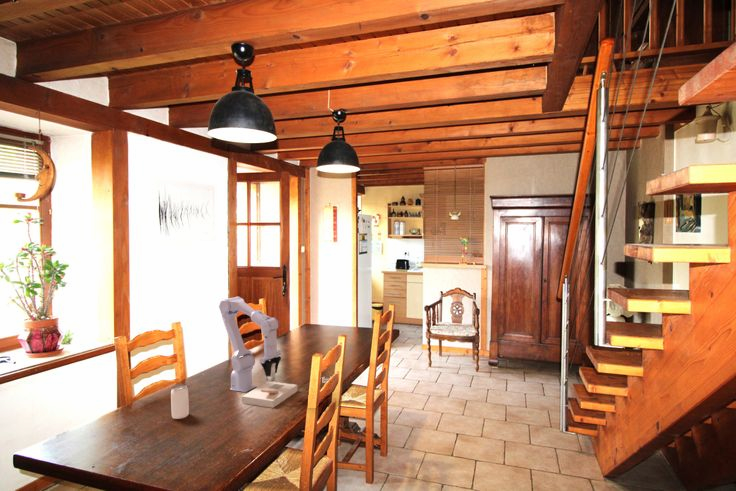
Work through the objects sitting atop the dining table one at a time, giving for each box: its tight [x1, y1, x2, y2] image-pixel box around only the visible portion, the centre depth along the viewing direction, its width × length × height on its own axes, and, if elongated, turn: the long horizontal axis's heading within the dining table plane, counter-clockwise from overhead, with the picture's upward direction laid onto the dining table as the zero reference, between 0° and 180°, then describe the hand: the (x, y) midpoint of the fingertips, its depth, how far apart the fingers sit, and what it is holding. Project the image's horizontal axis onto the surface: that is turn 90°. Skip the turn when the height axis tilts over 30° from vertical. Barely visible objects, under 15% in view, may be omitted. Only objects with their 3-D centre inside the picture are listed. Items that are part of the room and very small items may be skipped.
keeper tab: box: [261, 390, 278, 393], centre depth 190 cm, size 4×8×1 cm, turn 159°
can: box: [170, 384, 190, 420], centre depth 177 cm, size 6×6×12 cm
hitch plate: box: [241, 381, 298, 409], centre depth 196 cm, size 16×20×3 cm
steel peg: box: [265, 362, 276, 382], centre depth 198 cm, size 5×5×8 cm
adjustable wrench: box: [321, 375, 332, 383], centre depth 207 cm, size 25×6×2 cm, turn 166°
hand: (271, 374), depth 198 cm, fingers closed on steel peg, 4 cm apart
